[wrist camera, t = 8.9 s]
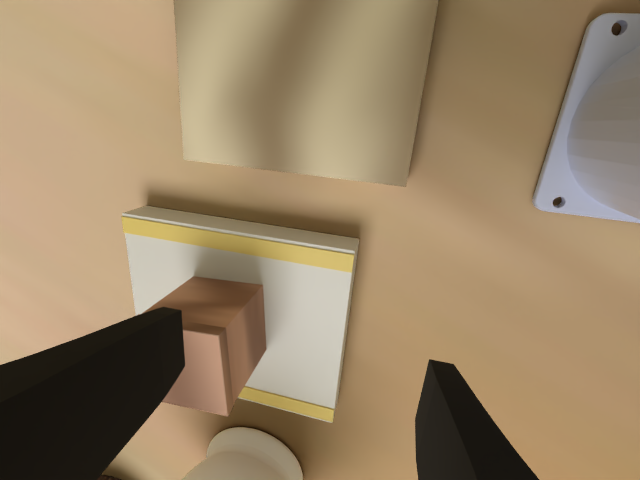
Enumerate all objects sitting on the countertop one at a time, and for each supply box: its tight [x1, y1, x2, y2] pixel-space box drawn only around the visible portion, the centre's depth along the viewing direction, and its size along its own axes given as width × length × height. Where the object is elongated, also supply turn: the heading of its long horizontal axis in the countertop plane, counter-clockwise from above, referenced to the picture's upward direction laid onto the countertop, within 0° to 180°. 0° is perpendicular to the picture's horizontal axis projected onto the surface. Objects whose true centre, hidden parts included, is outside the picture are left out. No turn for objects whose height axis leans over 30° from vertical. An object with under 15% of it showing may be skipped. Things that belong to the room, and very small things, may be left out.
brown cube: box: [136, 276, 266, 416], centre depth 18 cm, size 5×5×5 cm
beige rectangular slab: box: [174, 0, 439, 187], centre depth 16 cm, size 12×9×2 cm
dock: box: [122, 206, 359, 423], centre depth 21 cm, size 14×12×2 cm
